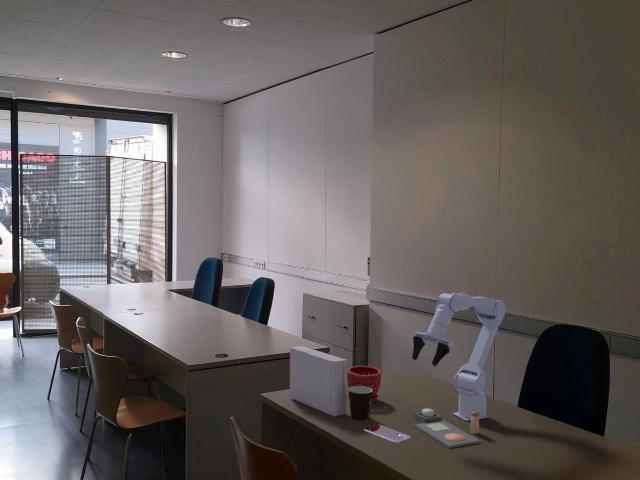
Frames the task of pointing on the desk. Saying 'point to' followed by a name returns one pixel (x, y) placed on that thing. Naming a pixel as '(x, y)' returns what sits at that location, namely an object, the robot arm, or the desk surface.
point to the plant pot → (364, 379)
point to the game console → (318, 380)
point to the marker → (474, 422)
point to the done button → (428, 413)
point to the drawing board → (447, 434)
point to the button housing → (422, 419)
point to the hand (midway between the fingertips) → (423, 362)
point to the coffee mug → (360, 402)
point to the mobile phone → (387, 433)
